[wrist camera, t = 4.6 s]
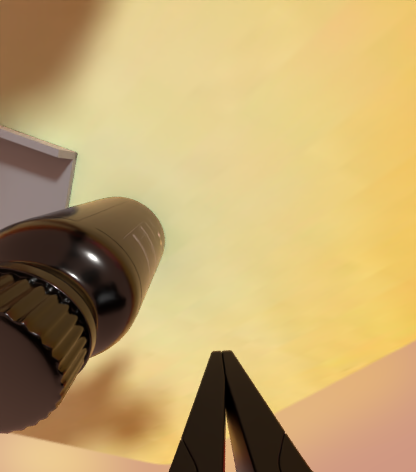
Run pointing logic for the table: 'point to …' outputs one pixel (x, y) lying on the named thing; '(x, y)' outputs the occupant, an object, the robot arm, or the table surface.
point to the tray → (32, 177)
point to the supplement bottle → (68, 297)
